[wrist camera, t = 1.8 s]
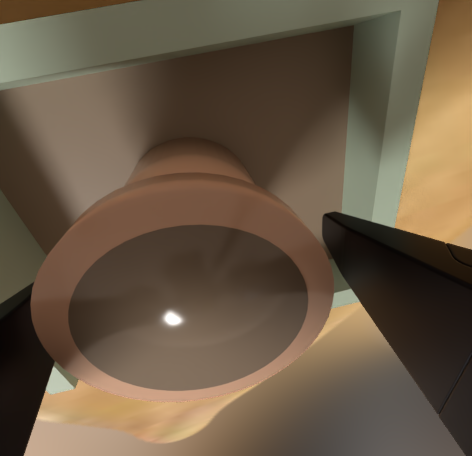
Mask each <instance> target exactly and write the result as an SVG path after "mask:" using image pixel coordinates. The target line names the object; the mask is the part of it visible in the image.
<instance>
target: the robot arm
mask: <svg viewBox="0 0 472 456" xmlns="http://www.w3.org/2000/svg"><path fill="white" fill-rule="evenodd" d="M322 238H323V240H324V242H325V244H326V246H327V248H328V250H329V252H330V254H331V256H332V258H333V260H334V261H335V263H336V265H337V267H338V269H339V271H340V273H341V274H342V276H343V278H344V279H345V281H346V282H347V284H348V285H349V286H350V288H351V289H352V291H353V292H354V294H355V295H356V297H357V298H358V300H359V301H360V302H361V304H362V305H363V307H364V308H365V310H366V311H367V313H368V314H369V315H370V317H371V318H372V320H373V321H374V323H375V324H376V326H377V327H378V329H379V330H380V331H381V333H382V334H383V336H384V337H385V339H386V340H387V342H388V343H389V345H390V346H391V347H392V349H393V350H394V352H395V353H396V355H397V356H398V358H399V359H400V360H401V362H402V363H403V365H404V366H405V368H406V369H407V371H408V372H409V374H410V375H411V376H412V378H413V379H414V381H415V382H416V384H417V385H418V387H419V388H420V390H421V391H422V392H423V394H424V395H425V397H426V398H427V400H428V401H429V403H430V404H431V405H432V407H433V408H434V410H435V411H436V413H437V414H439V418H440V419H441V420H442V422H443V423H444V425H445V426H446V428H447V429H448V431H449V432H450V434H451V435H452V436H453V438H454V439H455V441H456V442H457V444H458V445H459V446H460V448H461V449H462V450H463V452H464V454H465V455H466V456H472V250H471V249H467V248H463V247H460V246H456V245H453V244H450V243H447V244H446V243H445V242H442V241H439V240H435V239H432V238H428V237H425V236H421V235H417V234H414V233H410V232H407V231H403V230H400V229H396V228H393V227H389V226H386V225H382V224H379V223H375V222H372V221H368V220H364V219H361V218H357V217H354V216H350V215H347V214H343V213H340V212H336V211H333V212H329V213H325V214H324V215H323V217H322ZM34 282H35V281H34ZM34 282H33V283H31V284H30V285H28V286H27V287H25V288H24V289H22V290H21V291H19V292H17V293H16V294H14V295H13V296H11V297H10V298H8V299H7V300H5V301H4V302H2V303H1V304H0V456H24V453H25V450H26V447H27V444H28V441H29V438H30V435H31V432H32V429H33V426H34V423H35V420H36V417H37V414H38V411H39V408H40V405H41V402H42V399H43V396H44V393H45V391H46V388H47V385H48V382H49V379H50V376H51V373H52V370H53V367H54V364H55V360H53V358H52V357H51V356H50V355H49V353H48V352H47V351H46V350H45V348H44V347H43V345H42V343H41V342H40V340H39V338H38V336H37V334H36V331H35V328H34V325H33V322H32V315H31V305H30V304H31V295H32V288H33V285H34Z"/></svg>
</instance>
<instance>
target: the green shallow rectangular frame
mask: <svg viewBox="0 0 472 456" xmlns="http://www.w3.org/2000/svg"><path fill="white" fill-rule="evenodd" d="M438 3H439V0H140V1H134V2H128V3H123V4H117V5H111V6H105V7H99V8H93V9H88V10H82V11H76V12H70V13H64V14H58V15H53V16H47V17H41V18H35V19H29V20H23V21H18V22H12V23H6V24H0V304H1V303H2V302H4V301H5V300H7V299H8V298H10V297H11V296H13V295H14V294H16V293H17V292H19V291H21V290H22V289H24V288H25V287H27V286H28V285H30V284H31V283H33V282H34V281H35V279H36V276H37V273H38V271H39V269H40V267H41V266H42V264H43V262H44V261H45V259H46V257H47V255H48V254H49V253H50V251H51V250H52V249H53V248H54V247H55V245H56V244H57V243H58V242H59V240H60V239H61V238H62V237H63V235H64V234H65V233H66V232H67V230H68V229H69V228H70V227H71V225H72V224H73V223H74V222H75V221H76V220H77V219H78V217H79V216H80V215H81V214H82V213H83V212H84V211H86V210H87V209H88V208H89V207H90V206H92V205H93V204H94V203H95V202H96V201H98V200H100V199H101V198H103V197H105V196H106V195H108V194H110V193H111V192H113V191H114V190H117V189H119V188H121V187H124V185H125V183H126V182H127V180H128V178H129V177H130V175H131V173H132V172H133V170H134V169H135V167H136V165H137V164H138V162H139V161H140V160H141V159H142V157H143V156H144V155H145V154H146V153H148V152H149V151H150V150H151V149H153V148H154V147H156V146H158V145H159V144H161V143H164V142H166V141H169V140H172V139H176V138H184V137H196V138H203V139H207V140H211V141H214V142H216V143H218V144H221V145H222V146H224V147H226V148H227V149H229V150H230V151H231V152H232V153H234V154H235V155H236V156H237V157H238V158H239V159H240V161H241V162H242V163H243V165H244V166H245V168H246V169H247V171H248V172H249V174H250V175H251V177H252V179H253V180H254V182H255V183H256V185H257V186H259V187H261V188H263V189H265V190H267V191H268V192H270V193H272V194H274V195H276V196H277V197H278V198H279V199H281V200H282V201H283V202H285V203H286V204H287V205H288V206H290V207H291V209H292V210H293V211H294V212H295V213H296V214H297V215H298V216H299V217H300V218H301V220H302V221H303V222H304V223H305V225H306V226H307V227H308V228H309V230H310V231H311V232H312V233H313V235H314V236H315V237H316V238H317V240H318V241H319V243H320V244H321V246H322V248H323V249H324V251H325V252H326V255H327V257H328V259H329V262H330V264H331V268H332V272H333V277H334V297H333V303H332V307H331V309H332V308H336V307H340V306H344V305H348V304H352V303H356V302H360V301H359V300H358V298H357V297H356V295H355V294H354V292H353V291H352V289H351V288H350V286H349V285H348V284H347V282H346V281H345V279H344V278H343V276H342V274H341V273H340V271H339V269H338V267H337V265H336V263H335V261H334V260H333V258H332V256H331V254H330V252H329V250H328V248H327V246H326V244H325V242H324V240H323V238H322V217H323V215H324V214H325V213H329V212H333V211H336V212H340V213H343V214H347V215H350V216H354V217H357V218H361V219H364V220H368V221H372V222H375V223H379V224H382V225H386V226H389V227H393V228H394V227H395V221H396V216H397V211H398V206H399V201H400V196H401V191H402V186H403V181H404V176H405V171H406V166H407V160H408V155H409V150H410V145H411V140H412V135H413V130H414V125H415V120H416V115H417V110H418V105H419V99H420V94H421V89H422V84H423V79H424V74H425V69H426V64H427V59H428V54H429V49H430V44H431V38H432V33H433V28H434V23H435V18H436V13H437V8H438ZM77 382H78V379H77V378H76V377H74V376H73V375H71V374H70V373H69V372H67V371H66V370H64V369H63V368H62V367H61V366H60V365H59V364H58V363H57V362H56V361H55V364H54V367H53V370H52V373H51V376H50V379H49V382H48V385H47V388H46V391H47V392H48V393H50V394H55V393H59V392H63V391H68V390H72V389H75V388H76V385H77Z"/></svg>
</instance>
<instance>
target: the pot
mask: <svg viewBox="0 0 472 456" xmlns="http://www.w3.org/2000/svg"><path fill="white" fill-rule="evenodd" d="M333 297H334V277H333V272H332V268H331V264H330V262H329V259H328V257H327V255H326V252H325V251H324V249H323V248H322V246H321V244H320V243H319V241H318V240H317V238H316V237H315V236H314V235H313V233H312V232H311V231H310V230H309V228H308V227H307V226H306V225H305V223H304V222H303V221H302V220H301V218H300V217H299V216H298V215H297V214H296V213H295V212H294V211H293V210H292V209H291V207H290V206H288V205H287V204H286V203H285V202H283V201H282V200H281V199H279V198H278V197H277V196H276V195H274V194H272V193H270V192H268V191H267V190H265V189H263V188H261V187H259V186H257V185H256V183H255V182H254V180H253V179H252V177H251V175H250V174H249V172H248V171H247V169H246V168H245V166H244V165H243V163H242V162H241V161H240V159H239V158H238V157H237V156H236V155H235V154H234V153H232V152H231V151H230V150H229V149H227V148H226V147H224V146H222V145H221V144H218V143H216V142H214V141H211V140H207V139H203V138H196V137H184V138H176V139H172V140H169V141H166V142H164V143H161V144H159V145H158V146H156V147H154V148H153V149H151V150H150V151H149V152H148V153H146V154H145V155H144V156H143V157H142V159H141V160H140V161H139V162H138V164H137V165H136V167H135V169H134V170H133V172H132V173H131V175H130V177H129V178H128V180H127V182H126V183H125V185H124V187H121V188H119V189H117V190H114V191H113V192H111V193H110V194H108V195H106V196H105V197H103V198H101V199H100V200H98V201H96V202H95V203H94V204H93V205H92V206H90V207H89V208H88V209H87V210H86V211H84V212H83V213H82V214H81V215H80V216H79V217H78V219H77V220H76V221H75V222H74V223H73V224H72V225H71V227H70V228H69V229H68V230H67V232H66V233H65V234H64V235H63V237H62V238H61V239H60V240H59V242H58V243H57V244H56V245H55V247H54V248H53V249H52V250H51V251H50V253H49V254H48V255H47V257H46V259H45V261H44V262H43V264H42V266H41V267H40V269H39V271H38V273H37V276H36V279H35V282H34V285H33V288H32V295H31V304H30V305H31V315H32V322H33V325H34V328H35V331H36V334H37V336H38V338H39V340H40V342H41V343H42V345H43V347H44V348H45V350H46V351H47V352H48V353H49V355H50V356H51V357H52V358H53V360H55V361H56V362H57V363H58V364H59V365H60V366H61V367H62V368H63V369H64V370H66V371H67V372H69V373H70V374H71V375H73V376H74V377H76V378H77V379H79V380H81V381H83V382H85V383H86V384H88V385H90V386H93V387H95V388H97V389H100V390H102V391H105V392H108V393H111V394H115V395H118V396H122V397H127V398H131V399H137V400H144V401H155V402H185V401H196V400H203V399H209V398H214V397H219V396H223V395H227V394H230V393H233V392H237V391H240V390H242V389H245V388H248V387H251V386H253V385H255V384H257V383H259V382H262V381H264V380H266V379H268V378H269V377H271V376H273V375H275V374H277V373H278V372H279V371H281V370H283V369H284V368H286V367H287V366H288V365H290V364H291V363H292V362H293V361H295V360H296V359H297V358H298V357H299V356H300V355H302V354H303V353H304V352H305V351H306V350H307V349H308V348H309V346H310V345H311V344H312V343H313V342H314V340H315V339H316V338H317V336H318V335H319V333H320V332H321V330H322V329H323V327H324V325H325V323H326V321H327V319H328V317H329V313H330V310H331V307H332V303H333Z"/></svg>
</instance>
